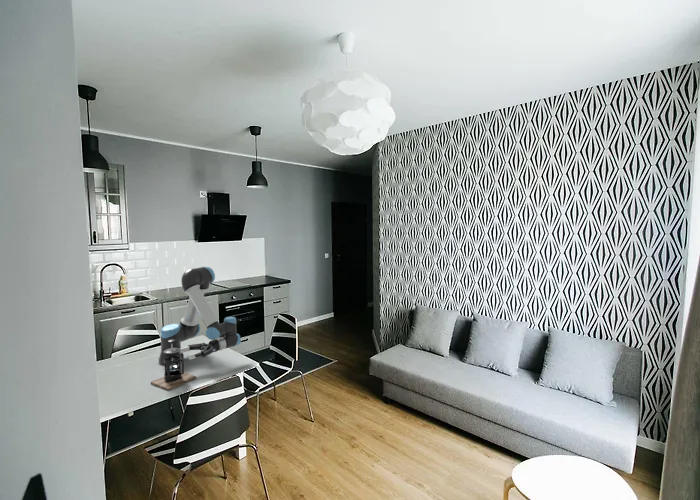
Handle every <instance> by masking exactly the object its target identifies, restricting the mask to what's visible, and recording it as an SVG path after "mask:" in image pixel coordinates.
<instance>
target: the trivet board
mask: <svg viewBox="0 0 700 500" xmlns="http://www.w3.org/2000/svg"><path fill="white" fill-rule="evenodd" d="M181 373H182V370H181ZM196 379H197V375H193V374H190V373H187V372H185V371H184V374H183V375H182V378H181V379H180V380H178V381H174V382H166V381H164V376H162V377H159V378H156V379H155V380H151V381H150V384H151V385H152V384H153V386H155V385H156V386H155V387H157V386H158V387H157V388H160V387H161V388H160V389H162V388H163V390H165V389H166V390H165V391H168V390H169V391H171V390H173V389H175V388H177V386H178V387H179V385H180V386H182V385H184V383H185V384H187V383H188V382H191V381H193V380H196ZM174 387H175V388H174ZM172 388H173V389H172ZM170 389H171V390H170Z"/></svg>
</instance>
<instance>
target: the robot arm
mask: <svg viewBox="0 0 700 500" xmlns="http://www.w3.org/2000/svg"><path fill="white" fill-rule="evenodd" d="M215 279H216V274H215V271H214V270H213V269H212V268H211V267H210V266H201V267H195V268H189V269H187V270H186V271H184V272H183V273H182V275H181V281H180V283H181V286H182V289H183V291H184V293H185V294H187V295H188V296H189V298H188V301H187V305H186V309H185V311H184V316H183V317H181V318H180V322H179V323H171V324H166V325H164V326H162V328H161V330H160V334H159V335H160V350H161V351H160V353H159V357H158V364H159V365H162V366H165V364H164V359H165V358H167V356H165V355H164V350H166V349H169V348H180V349H181V350H180V354H179V355H176V356H180V357H181V359H184V360H185V356H184V353H187V352H190V351H197V352H194V353H191V354H189V355H188V360H189V361H190V360H193V359H196V358H200V357H203V358H206V357H207V356H210V355H211V354H212V353H216V352H218V351H223V350H226V349H229V348H233V347H236V346H239V345H240V344H241V342H242V339H241V335H240V334H239V333H237V318H236V317H235V316H226V317H225V318H224V319H223V322H221V323H220V322H219V321H218V319H217V317H216V315H215V313H214V312H213V310H212V308H211V306H210V304H209V303H208V300H207V299H206V297H205V294H206V293H205V292H206V291H207V290H208V289H209V288H210V287H209V286H210V284H212V283H214V281H215ZM199 316H200V318H201V320H202V322H203V324H204V325H205V327H206V331H205V334H206V335H205V336H206V337H207V339H208V340H210V341H209V342H208V343H205V342H202V343H193V344H188V345H187V346H186V347H182V346H181V345H182V344H181V343H182V342H185V341H188V340H190V339H194V338H195V337H197V336H198V335H199V333H200V332H201V326H200V323H199V320H198V318H199ZM172 339H174V340H176V341H174V342H173V344H171V342H168V340H172ZM199 350H200V351H199ZM179 359H180V358H178V360H179ZM166 361H167V362H171V361H172V358H171V359H167V360H166ZM173 361H175V358H173ZM178 364H179V362H178ZM171 365H172V364H170V366H171ZM173 365H175V363H173Z"/></svg>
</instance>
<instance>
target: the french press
mask: <svg viewBox="0 0 700 500" xmlns="http://www.w3.org/2000/svg"><path fill="white" fill-rule="evenodd" d="M174 341H176V340H174V339H172V340H168V342H171V344H173V342H174ZM180 350H181V349H180V348H169V349H166V350H164V355H165V356H167V358H165V359H164V364H165V365H164V375H163V377H164V381H166V382H174V381H178V380H180V379H181V378H182V375H183V374H184V372H185V358H184V359H181V357H180V356H176V355H179V354H180ZM171 358H172V361H171V362H167V361H166V360H167V359H171ZM173 358H175V361H173ZM178 358H180V359H179V360H178ZM178 362H179V363H178ZM173 363H175V364H173ZM170 364H172V365H170ZM181 371H182V373H181Z"/></svg>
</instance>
